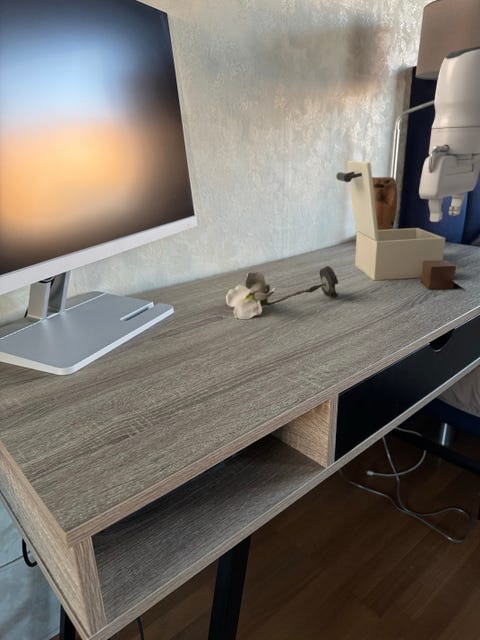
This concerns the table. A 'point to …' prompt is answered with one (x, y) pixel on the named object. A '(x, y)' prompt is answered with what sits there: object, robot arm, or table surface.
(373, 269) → the beige open box
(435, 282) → the cube
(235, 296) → the artificial flower
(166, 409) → the table surface
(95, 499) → the table surface
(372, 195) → the lid
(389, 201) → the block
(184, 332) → the table surface
